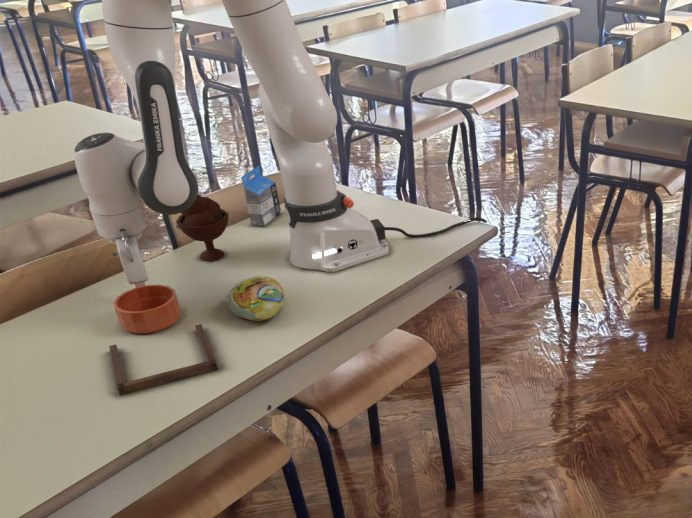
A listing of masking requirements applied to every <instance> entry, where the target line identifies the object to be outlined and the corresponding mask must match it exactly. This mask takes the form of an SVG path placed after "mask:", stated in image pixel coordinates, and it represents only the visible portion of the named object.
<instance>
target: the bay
mask: <svg viewBox="0 0 692 518" xmlns="http://www.w3.org/2000/svg"><path fill="white" fill-rule="evenodd" d="M194 327H195V331H196V334H197V337H198V340H199V342H200V345H201V348H202V350H203V352H204V355H205V358H206V361H203V362H199V363H195V364H191V365H187V366H184V367H180V368H176V369H172V370H168V371H164V372H160V373H155V374H152V375H149V376H145V377H140V378H137V379H133V380H129V381H125V376H124V371H123V370H124V369H123V365H122V361H121V356H120V352H119V348H118V346H117V344H112V345H109V346H108V347H109V353H110V358H111V363H112V369H113V374H114V378H115V379H114V380H115V383H116V384H115V385H116V389H117V392H118V394H119V396H123V395H126V394H130V393H134V392H138V391H141V390H145V389H150V388H153V387H157V386H161V385H165V384H169V383H172V382H176V381H180V380H184V379H187V378H191V377H195V376H198V375H203V374H206V373H207V374H208V373H211V372H214V371H218V370H219V367H218V366H219V365H218V363H217V360H216V358H215V355H214V352H213V350H212V347H211V345H210V343H209V340H208V338H207V335H206V332H205V329H204V327H203V325H202V323H200V324H195V325H194Z"/></svg>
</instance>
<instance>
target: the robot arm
mask: <svg viewBox="0 0 692 518" xmlns="http://www.w3.org/2000/svg"><path fill="white" fill-rule="evenodd" d="M172 2H173V0H101V7H102V9H101V10H102V18H103V25H104V32H105V35H106V41H107V45H108V48H109V51H110V55H111V57H112V60H113V63H114V65H115V67H116V69H117V71H119V73H120V74H121V76H122V78H123V79H124V81H125V82H126V84H127V86H128V88H129V89H130V91H131V93H132V96H133V97H134V100H135V103H136V106H137V110H138V113H139V120H140V126H141V133H142V141H143V142H141V141H140V142H139V141H134V140H130V139H126V138H123V137H120V136H118V135H116V134H115V133H113V132H98V133H93V134H91V135H88V136H86V137H84V138H82V139H81V140H80V141H79V142H78V143H77V144H76V146H75V147H74V150H73V157H74V165H75V168H76V172H77V176H78V179H79V182H80V185H81V188H82V191H83V193H84V194H85V195H86V196H87V198H88V202H89V204H88V205H89V206H88V207H89V211H90V212H89V213H90V215H91V217H92V220H93V223H94V227H95V229H96V232H97V234H98V236H100V237H102V238H106V239H107V241H108V243H110V244H115V245H116V249H117V253H118V256H119V259H120V263H121V265H122V269H123V272H124V274H125V279H126V281H127V283H128V284H129V285H130V286H131V285H135V288H137V287H141V286H146V282H148V280H149V276H148V273H147V269H146V266H145V263H144V259H143V256H142V252H141V249H140V246H139V242H138V240H139V239H140V238H142V236H143V231H144V230H146V228H147V221H146V217H145V214H144V212H143V211H144V210H143V208H142V205H141V201H140V200H142V201H143V203H144V204H145V205H146V206H147V207H148V208H149V209H150V210H151V211H153V212H155V213H158V214H161V215H167V216H171V215H174V216H175V215H179V214H181V212H183V211H185V210H187V209H188V208H190V207H191V206H192V204H193V203H194V202H195V200H196V198H197V195H199V184H198V180H197V178H196V175H195V174H194V172H193V171H192V169H191V167H190V165H189V163H188V161H187V159H186V156H185V151H184V146H183V145H184V144H183V139H182V138H183V137H182V132H181V124H180V117H179V110H178V103H177V94H176V91H177V90H176V87H177V86H176V46H175V45H176V44H175V42H176V41H175V29H174V21H173V19H174V18H173V13H172ZM221 2H222V4H223V7H224V10H225V12H226V14H227V17H228V19H229V21H230V24H231V26H232V29H233V31H234V34H235V36H236V38H237V40H238V42H239V44H240V47H241V50H242V51H243V55H244V56H245V58H246V60H247V62H248V63H249V65H250V66H251V68H252V70H253V72H254V74H255V75H256V78H257V79H258V81H259V86H258V91H257V93H258V101H259V103H260V106H261V109H262V112H263V116H264V120H265V123H266V127H267V130H268V133H269V137H270V140H271V143H272V147H273V149H274V152H275V155H276V159H277V162H278V167H279V171H280V176H281V182H282V187H283V192H284V193H283V194H284V197H283V203H284V213H285V217H286V222H287V224H288V226H289V237H290V241H289V242H290V243H289V245H290V247H289V256H288V260H289V262H290V263H291V264H292V265H293V266H294V267H298V268H301V269H304V270H318V271H322V272H325V273H335V272H338V271H341V270H344V269H347V268H350V267H354V266H356V265H359V264H363V263H365V262H369V261H371V260H375V259H378V258H381V257H384V256H386V255H388V254H389V252H390V247H389V243H388V241H387V240H386V239H387V237H386V231H395V232H399V233H401V234H402V235H404V236H405V237H407V238H413V239H416V238H417V239H418V238H427V237H428V238H429V237H432V236H437V235H441V234H443V233H446V232H449V231H452V230H453V229H454V228H455V229H456V228H457V227H460V226H464V225H467V224H469V223H471V222H475V221H480V222H482V223H484V224H486V223H488V220H486V219H485V218H483V217H478V216H477V217H471V218H469V219H466V220H463V221H461V222H457V223H454V224H451V225H450V226H447V227H446V228H443V229H441V230H436V231H432V232H428V233H422V234H413V233H408V232H406V231H405V230H404V229H402V228H399V227H393V226H385V225H384V224H383V223H382V222H381V221H380V220H379V219H378V218H376V219H375V218H374V219H370V218H368V217H367V216H365V215H364V214H362V213H360V212H359V211H356V210H354V209H353V208H354V205H355V202H354V200H352V198H351V197H349V196H347V195H346V194H345V193H344V192H341V191H340V190H339V189H337V184H336V177H335V169H334V162H333V158H332V155H331V153H330V151H329V149H328V148H329V147H328V146H327V143H326V140H327V139H329V138H330V137H331V136H332V135H333V133H334V132H335V130H336V128H337V124H338V112H337V109H336V106H335V105H334V103H333V101H332V99H331V98H330V96H329V94H328V92H327V89H326V88H325V84H324V83H323V81H322V79H321V76H320V75H319V73H318V70H317V68H316V66H315V64H314V63H313V60H312V59H311V57H310V55H309V53H308V51H307V50H306V48H305V47H306V46H305V45H304V43H303V40H302V39H301V37H300V33H299V31H298V29H297V26H296V23H295V21H294V18H293V16H292V13H291V9H290V7H289V5H288V3H287V0H221ZM467 220H471V221H467ZM464 221H467V222H464Z"/></svg>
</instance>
